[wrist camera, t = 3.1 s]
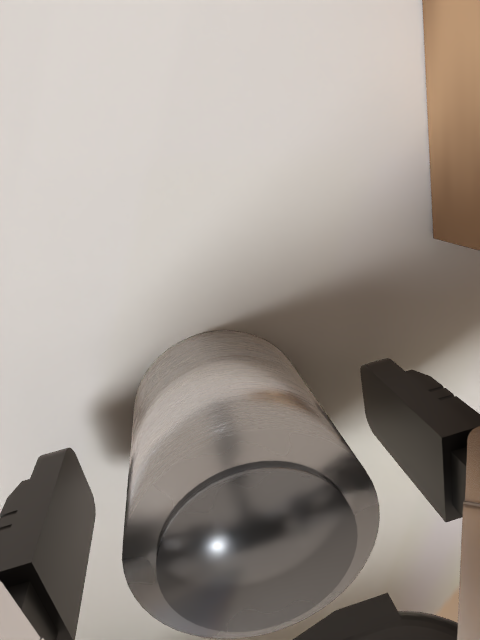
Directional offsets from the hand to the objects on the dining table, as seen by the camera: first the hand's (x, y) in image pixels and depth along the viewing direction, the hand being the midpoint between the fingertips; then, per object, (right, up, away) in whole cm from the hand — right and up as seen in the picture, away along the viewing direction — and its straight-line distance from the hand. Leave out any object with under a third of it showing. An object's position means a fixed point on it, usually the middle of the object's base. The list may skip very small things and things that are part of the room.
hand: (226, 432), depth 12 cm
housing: (0, 0, +1) cm, 1 cm away
